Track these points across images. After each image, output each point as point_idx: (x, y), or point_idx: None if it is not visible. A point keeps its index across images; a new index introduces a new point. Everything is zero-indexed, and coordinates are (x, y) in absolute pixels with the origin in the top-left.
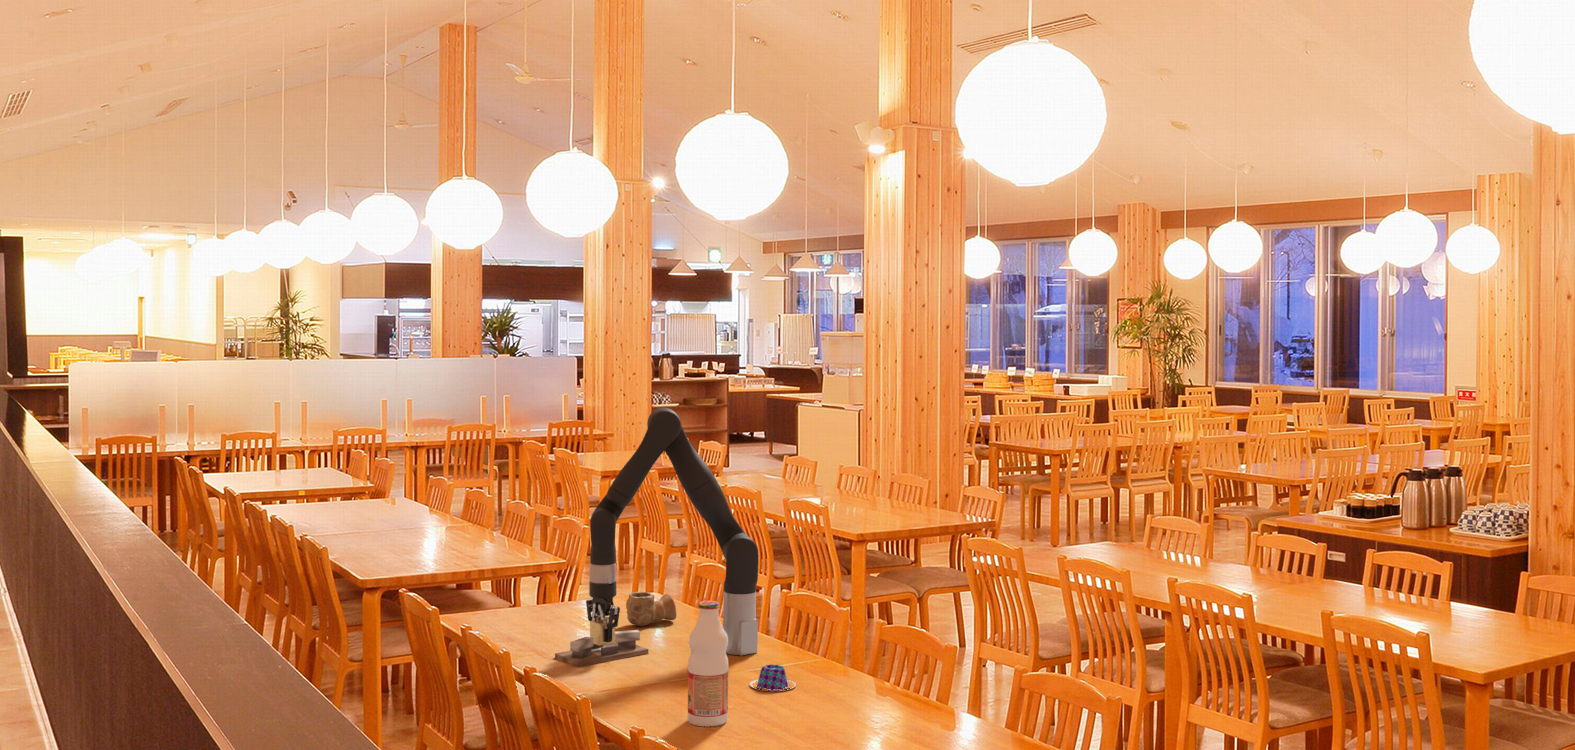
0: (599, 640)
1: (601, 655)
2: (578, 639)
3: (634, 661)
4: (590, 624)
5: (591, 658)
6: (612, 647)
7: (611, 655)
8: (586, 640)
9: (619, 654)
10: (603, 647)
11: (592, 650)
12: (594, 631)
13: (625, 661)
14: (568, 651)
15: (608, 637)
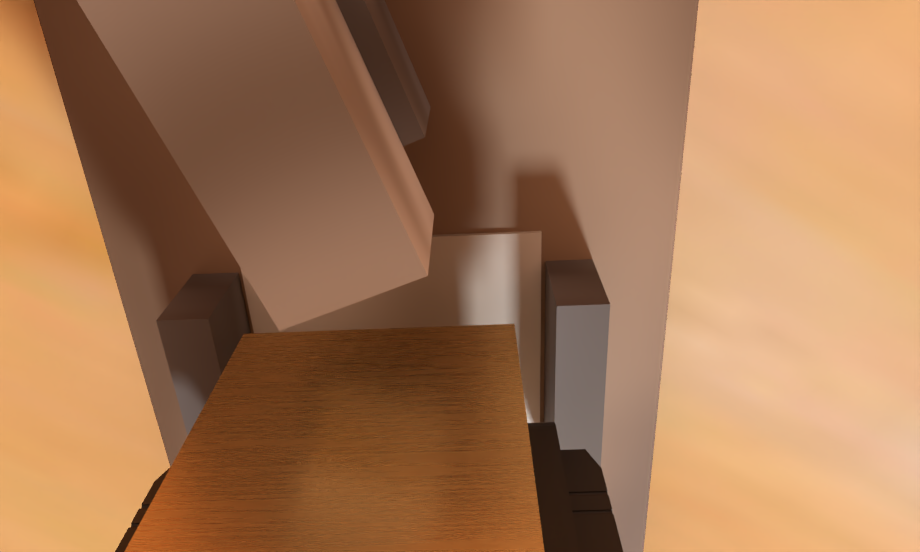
0: (233, 378)
1: (217, 267)
2: (291, 28)
3: (26, 463)
4: (528, 537)
5: (125, 87)
6: None
7: (165, 356)
8: (175, 147)
9: (165, 436)
10: (214, 352)
11: (485, 291)
12: (370, 453)
13: (60, 404)
14: (669, 6)
15: (144, 504)
